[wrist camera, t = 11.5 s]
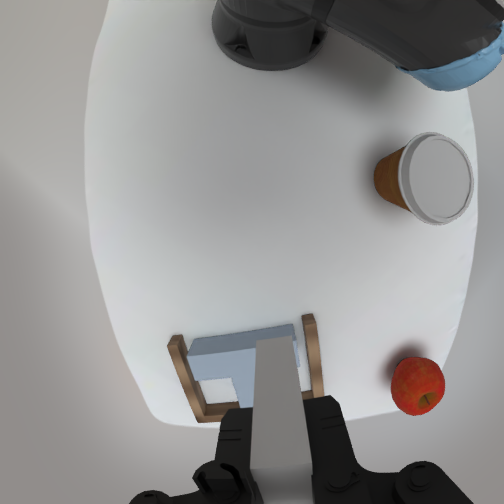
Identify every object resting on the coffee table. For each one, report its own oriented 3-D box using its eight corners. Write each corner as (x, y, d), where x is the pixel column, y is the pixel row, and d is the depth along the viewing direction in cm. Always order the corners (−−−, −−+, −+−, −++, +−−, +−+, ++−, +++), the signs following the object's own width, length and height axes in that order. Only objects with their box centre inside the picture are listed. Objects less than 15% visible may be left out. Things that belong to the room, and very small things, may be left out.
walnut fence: (172, 335, 40) (166, 345, 37) (312, 313, 39) (316, 322, 36) (200, 411, 43) (197, 422, 41) (321, 394, 42) (325, 406, 39)
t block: (194, 338, 40) (186, 356, 36) (292, 323, 40) (296, 340, 35) (211, 392, 42) (207, 412, 37) (301, 380, 41) (305, 400, 37)
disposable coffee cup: (364, 137, 34) (407, 119, 22) (425, 152, 34) (478, 144, 22) (358, 209, 36) (399, 220, 24) (419, 219, 36) (471, 232, 24)
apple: (387, 342, 40) (416, 382, 29) (430, 340, 40) (463, 374, 29) (373, 386, 42) (395, 429, 31) (415, 382, 42) (441, 420, 31)
